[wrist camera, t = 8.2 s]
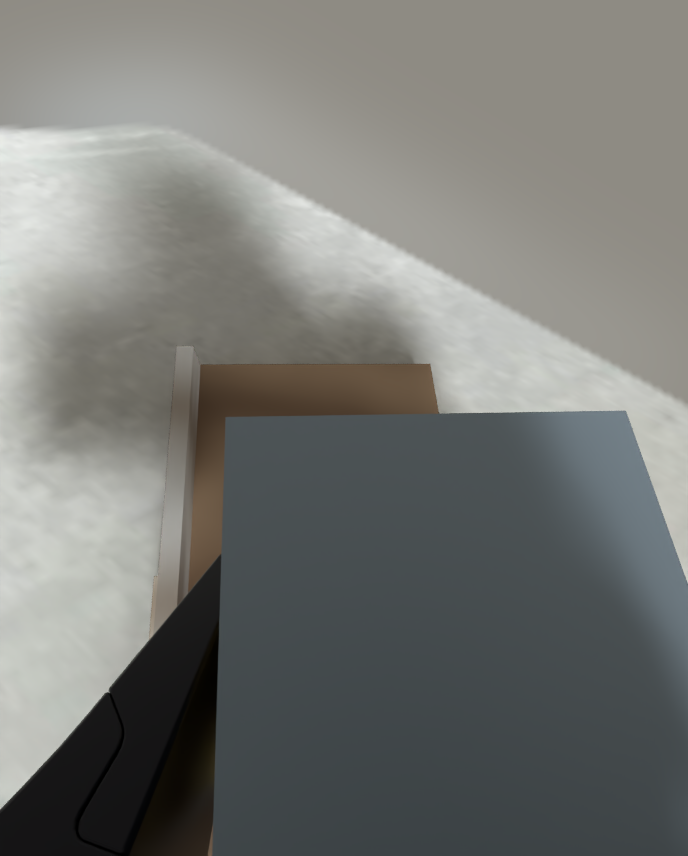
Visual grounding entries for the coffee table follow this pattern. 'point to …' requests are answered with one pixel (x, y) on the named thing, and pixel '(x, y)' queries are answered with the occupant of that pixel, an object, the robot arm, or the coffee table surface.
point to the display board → (205, 443)
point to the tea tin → (448, 640)
